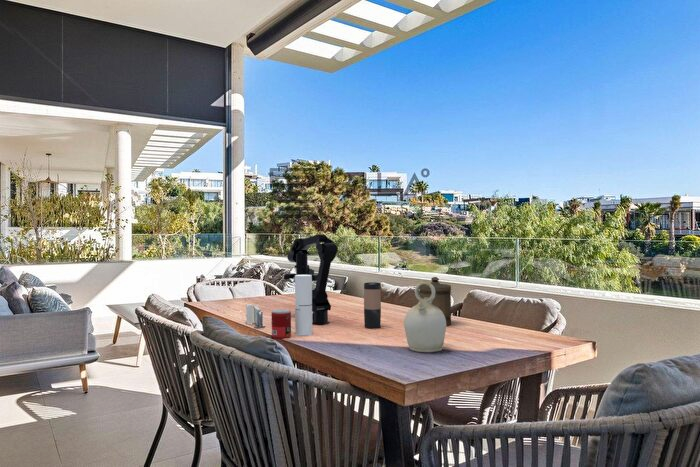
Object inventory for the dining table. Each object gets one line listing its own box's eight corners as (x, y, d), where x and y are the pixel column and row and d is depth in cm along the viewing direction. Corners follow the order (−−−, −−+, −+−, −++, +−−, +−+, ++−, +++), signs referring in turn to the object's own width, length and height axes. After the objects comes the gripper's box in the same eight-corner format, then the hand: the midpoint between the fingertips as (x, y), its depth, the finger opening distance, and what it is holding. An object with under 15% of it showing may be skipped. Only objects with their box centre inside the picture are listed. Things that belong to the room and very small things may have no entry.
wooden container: (457, 324, 238) (457, 276, 238) (438, 328, 227) (438, 279, 227) (431, 320, 248) (431, 275, 248) (412, 324, 238) (412, 277, 238)
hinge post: (266, 327, 232) (266, 311, 232) (260, 328, 229) (260, 313, 229) (259, 326, 234) (259, 311, 234) (253, 328, 231) (253, 312, 231)
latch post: (253, 323, 241) (253, 304, 241) (247, 324, 240) (247, 305, 240) (249, 321, 247) (249, 303, 247) (244, 322, 246) (244, 303, 246)
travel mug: (381, 325, 234) (381, 282, 234) (380, 329, 226) (380, 284, 226) (364, 325, 235) (364, 282, 234) (363, 328, 227) (363, 284, 227)
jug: (418, 342, 199) (417, 278, 199) (454, 348, 189) (453, 280, 189) (396, 349, 187) (395, 281, 187) (433, 356, 177) (432, 284, 177)
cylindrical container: (309, 336, 212) (309, 276, 212) (293, 335, 213) (292, 276, 213) (314, 332, 219) (313, 274, 219) (298, 332, 220) (297, 274, 220)
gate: (260, 325, 234) (260, 309, 233) (257, 325, 233) (257, 309, 233) (256, 320, 244) (256, 305, 244) (253, 321, 244) (253, 306, 244)
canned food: (289, 339, 207) (289, 312, 207) (270, 339, 207) (269, 312, 207) (292, 335, 214) (292, 309, 214) (273, 335, 215) (273, 309, 215)
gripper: (326, 262, 258) (326, 293, 258) (295, 261, 267) (296, 291, 267) (314, 264, 248) (314, 296, 248) (283, 263, 257) (283, 294, 257)
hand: (301, 294), depth 255 cm, fingers closed
